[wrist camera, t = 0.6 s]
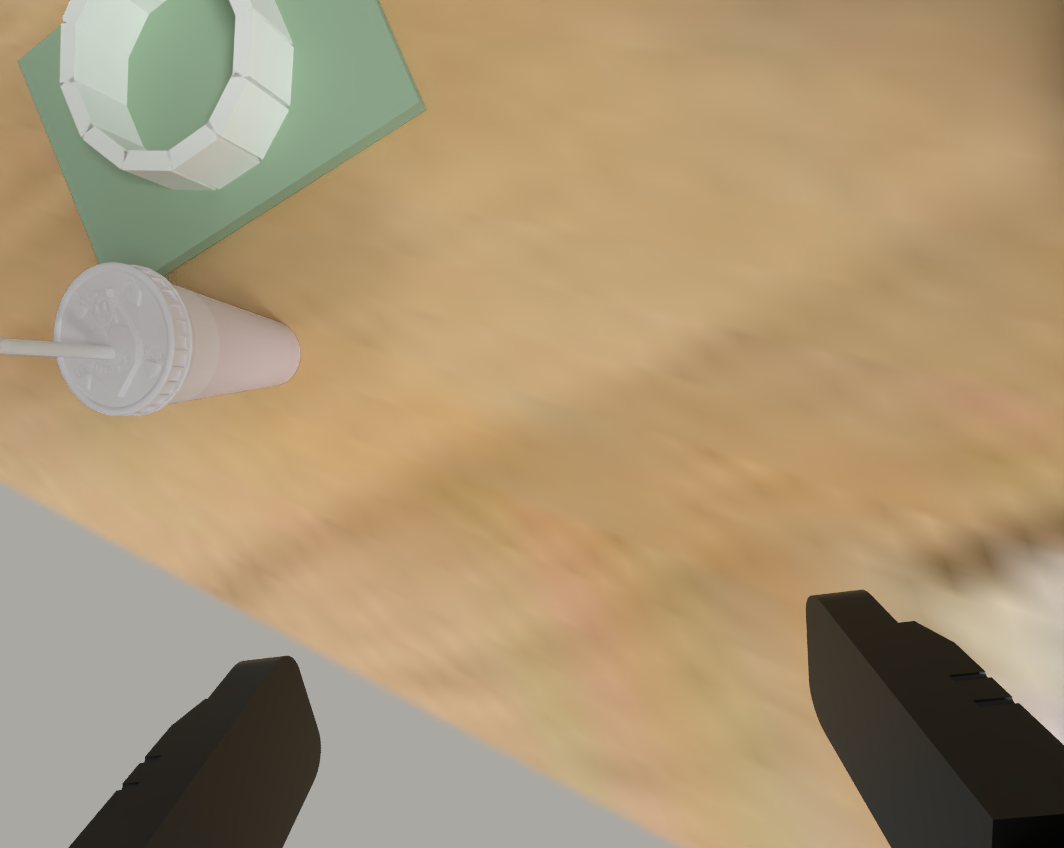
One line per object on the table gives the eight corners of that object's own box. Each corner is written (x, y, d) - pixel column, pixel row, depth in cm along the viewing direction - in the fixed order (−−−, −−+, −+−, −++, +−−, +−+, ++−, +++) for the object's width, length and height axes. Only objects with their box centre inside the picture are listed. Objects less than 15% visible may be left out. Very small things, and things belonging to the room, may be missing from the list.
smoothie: (234, 416, 34) (-65, 434, 20) (217, 307, 33) (-96, 252, 20) (329, 400, 32) (74, 410, 18) (312, 287, 32) (41, 211, 18)
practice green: (308, -160, 30) (-23, -655, 16) (426, 109, 30) (190, -154, 15) (32, 68, 36) (-401, -147, 21) (125, 300, 35) (-257, 239, 21)
